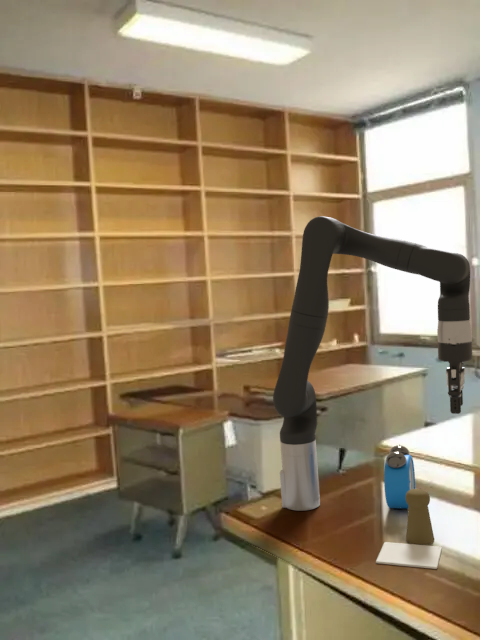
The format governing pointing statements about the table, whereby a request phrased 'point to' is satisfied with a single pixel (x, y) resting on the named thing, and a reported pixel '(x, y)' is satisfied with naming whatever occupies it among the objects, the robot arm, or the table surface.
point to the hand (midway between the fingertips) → (456, 409)
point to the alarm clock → (398, 477)
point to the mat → (410, 555)
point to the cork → (418, 518)
